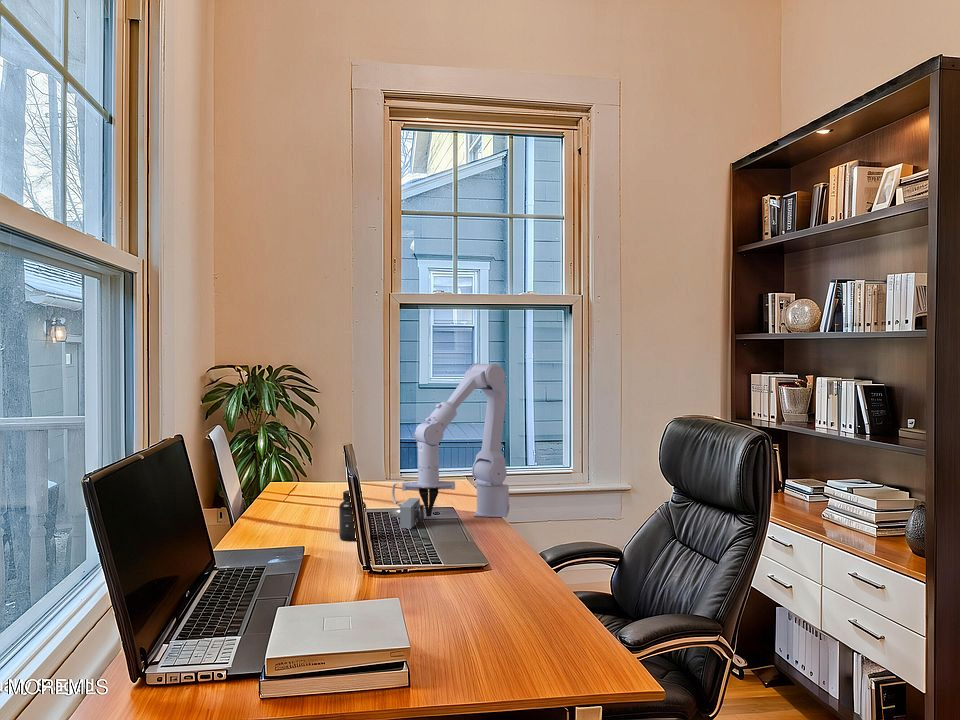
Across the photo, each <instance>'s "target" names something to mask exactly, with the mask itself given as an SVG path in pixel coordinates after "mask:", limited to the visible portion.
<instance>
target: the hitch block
mask: <svg viewBox="0 0 960 720" xmlns="http://www.w3.org/2000/svg"><path fill="white" fill-rule="evenodd" d="M403 503H404V504H403V505H400V506H399V508H400V517H399V529H400V528H407V529H408V528H410V529H411V528H412V527H413V525H414V524H415V523H416V522H417V521H418V518H414V509H418V507H419V505H421V497H409V498H408V499H406V501H405V502H403ZM417 523H418V522H417ZM417 523H416V524H417ZM416 524H415V525H416ZM415 525H414V526H415ZM413 528H414V527H413ZM413 528H412V529H413ZM412 529H411V530H412Z"/></svg>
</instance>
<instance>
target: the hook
mask: <svg viewBox="0 0 960 720" xmlns="http://www.w3.org/2000/svg"><path fill="white" fill-rule="evenodd" d="M396 486H399V483H398V482H394V483H393V484H392V487H391V497H392V502H393V504H394V503H397V501H396V497H395V496H396V494H395V492H396V491H395V489H396ZM404 503H405V502H402V501H401V502H398V503H397V505H396V506H398V505H400V506H402V505H403V504H404ZM398 509H400V507H399V508H398ZM424 510H425V508H424Z"/></svg>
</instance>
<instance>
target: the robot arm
mask: <svg viewBox="0 0 960 720" xmlns="http://www.w3.org/2000/svg"><path fill="white" fill-rule="evenodd" d="M505 379H506V372H505V370H503V368H502V367H501V365H499V364H497V363H480V362H479V363H477V362H476V363H473V364H471V365H470V367H469V369H467V370H466V371H465V372H464V375H463V378H462V380H461V381H460V383H459V384H458V385H457V386H456V388H455V390H454V391H453V392H452V394H451V395H450V396H449V398H448V399H447V401H442V402H440V403H437V404H436V405H435V406H434V407H435V409H434V410H433V411H432V412H431V413H430V415H429V416H428V417H426V418H425V419H424V420H425V421H424V422H422V423H419V424H418V426H416V428H415V432H414V433H413V438H414V441H416V445H417V475H418V476H417V480H418V481H407V482H402V483H401V491H403V492H405V491H418V494H419V496H420V499H421V501H422V502H423V505H424V509H425V510H426V513H425V515H426V517H427V518H428V517H430V518H431V517H432V513H433V507H434V505H435V502H436V500H437V497H438V495H439V490H456V481H450V480H449V481H447V480H445V481H444V480H440V459H439V457H440V451H439V450H440V449H439V448H440V447H439V445H440V442H442V441H443V439H444V433H445V431H446V429H447V428H448V426H450V424H451V423H452V422H453V420H454V419H455V418H456V417H457V409H458V408H459V407H460V405H462V403H464V401H466V399H467V398H468V397H469V396H470V395H471V393H473V391H475V390H478V389H481V391H482V392H483V393H484V394H485V395H486V396H487V400H486V408H485V416H484V427H483V434H482V442H481V443H482V444H481V450H479V452H478V453H477V454H475V460H474V462H473V464H472V467H471V474H472V477H473V478H474V480H475V483H476V511H475V512H474V514H473V517H480V518H481V517H485V518H486V517H487V518H488V517H489V518H507V517H508V515H509V513H510V512H509V511H510V501H509V500H510V495H509V493H510V489H509V484H505V483H504V481H505V480H506V478H507V474H508V473H507V468H506V458H505V457H504V455H503V454H502V452H501V450H502V449H501V448H502V439H503V432H504V431H503V430H504V420H505V413H506V404H507V403H506V402H507V393H508V391H507V386H506V381H505ZM503 483H504V484H503Z"/></svg>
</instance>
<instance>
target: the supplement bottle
mask: <svg viewBox="0 0 960 720" xmlns="http://www.w3.org/2000/svg"><path fill="white" fill-rule="evenodd" d="M349 490H350V489H348V490H344V491H343V492H342V496H343V497H342V500H343V501H342V502H341V503H340V504H339V506H338V518H339V519H338V520H339V524H338V525H339V526H338V527H339V529H338V531H339V539H340V540H342V541H345V542H357V541H356V538H355V528H354V521H353V514H352V507H351V502H350V496H349ZM360 491H361V493H362V494H363V491H362V490H360ZM363 504H364V508H365V512H366V513H367V504H366V503H365V502H364V501H363Z"/></svg>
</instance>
